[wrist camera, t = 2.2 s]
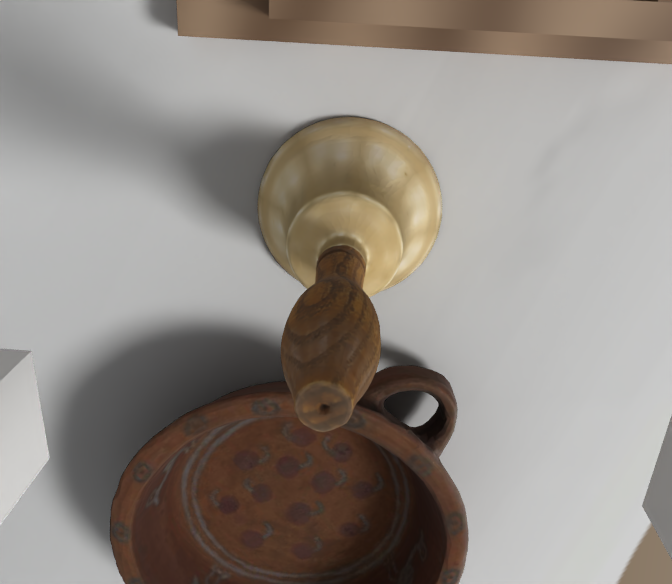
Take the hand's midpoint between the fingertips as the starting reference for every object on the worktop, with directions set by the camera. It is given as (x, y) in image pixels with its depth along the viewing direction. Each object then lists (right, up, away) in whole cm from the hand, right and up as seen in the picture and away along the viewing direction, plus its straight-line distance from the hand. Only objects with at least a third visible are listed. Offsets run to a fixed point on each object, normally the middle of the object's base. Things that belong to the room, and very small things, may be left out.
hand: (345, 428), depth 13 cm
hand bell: (0, +7, +15) cm, 17 cm away
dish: (-2, -8, +22) cm, 23 cm away
